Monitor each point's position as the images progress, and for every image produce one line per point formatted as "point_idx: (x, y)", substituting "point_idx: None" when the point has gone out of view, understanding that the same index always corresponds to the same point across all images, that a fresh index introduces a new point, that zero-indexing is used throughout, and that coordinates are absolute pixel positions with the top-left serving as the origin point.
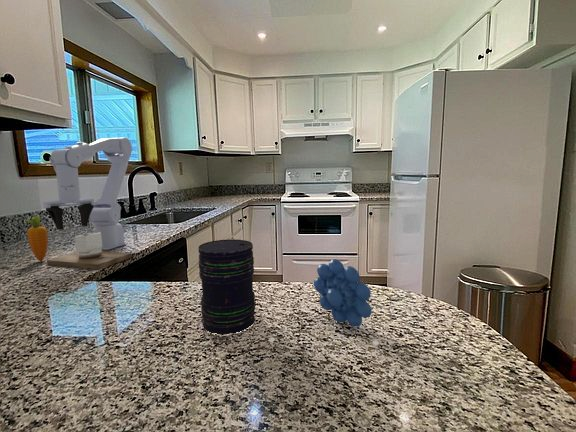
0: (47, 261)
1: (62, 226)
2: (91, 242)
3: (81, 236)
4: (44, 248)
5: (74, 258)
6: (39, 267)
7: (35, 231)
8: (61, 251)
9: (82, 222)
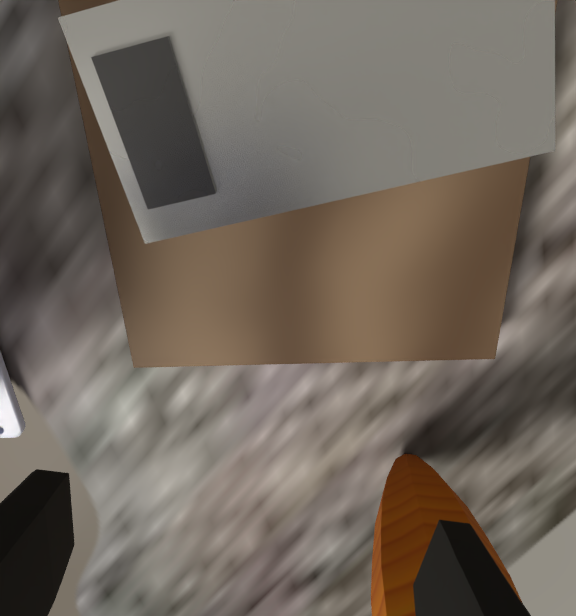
0: (492, 345)
1: (467, 558)
2: None
3: (526, 21)
4: (428, 504)
5: None
6: (551, 327)
7: None
8: (169, 547)
9: (45, 586)
